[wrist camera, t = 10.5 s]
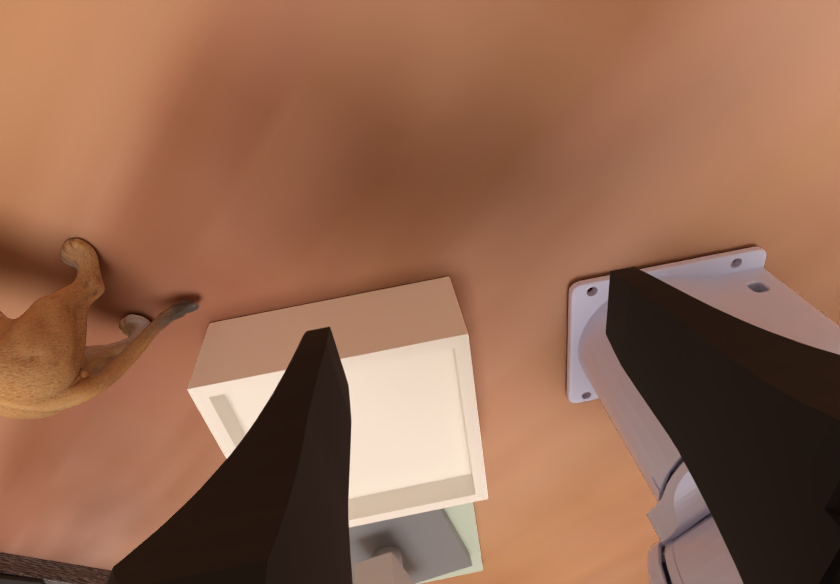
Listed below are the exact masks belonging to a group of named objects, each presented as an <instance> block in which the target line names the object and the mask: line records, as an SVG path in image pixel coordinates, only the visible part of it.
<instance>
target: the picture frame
mask: <svg viewBox="0 0 840 584" xmlns="http://www.w3.org/2000/svg"><path fill="white" fill-rule="evenodd" d="M110 574H111V571H110V570H104V569H98V568H92V567H85V566H79V565H73V564H67V563H61V562H55V561H49V560H43V559H37V558H31V557H25V556H18V555H12V554H6V553H0V584H106V583H107V580H108V578H109V576H110Z"/></svg>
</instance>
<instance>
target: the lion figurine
mask: <svg viewBox="0 0 840 584" xmlns="http://www.w3.org/2000/svg"><path fill="white" fill-rule="evenodd" d="M60 258H61V260H62V262H63V263H65V264H67V265H69V266H71V267H74V268H76V269H77V271H78V274H77V277H76V279H75V280H74V282H73V283H71V284H70V285H68V286H66V287H64V288H62V289H60V290H58V291H56V292H54V293H51V294H49V295H46V296H44V297H42V298H40V299H38V300H37V301H35V302H34V303H33V304H32V305H31V306H30V308H29V309H28V310H27V311H26V312H25V313H24V314H23V315H21V316H20V317H19V318H17V319H10V318H7V317H6V316H5V315H4V314H3V313H2V312H1V311H0V417H4V418H10V419H38V418H44V417H49V416H53V415H55V414H57V413H59V412H60V411H61V410H63V409H66V408H70V407H73V406H76V405H78V404H81V403H83V402H85V401H87V400H89V399H91V398H93V397H95V396H96V395H98V394H99V393H101V392H102V391H104V390H105V389H107V388H108V387H109V386H111V385H112V384H113V383H114V382H116V381H117V380H118V379H119V378H120V377H121V376H122V375H123V374H124V373H125V372H126V371H127V370H128V369H129V368H130V367H131V366H132V365H133V363H134V362H135V361H136V360H137V359H138V358H139V357H140V355H141V354H142V353H143V352H144V351H145V349H146V348H147V347H148V345H149V344H150V343H151V341H152V340H153V339H154V338H155V337H156V336H157V334H158V333H159V332H160V331H161V330H163V329H164V328H165V327H166V326H167V325H168V324H170V323H171V322H172V321H174V320H176V319H178V318H181V317H183V316H184V315H185V314H186V313H190V312H193V311H195V310H197V309H198V308H199V304H198V303H195V302H189V301H179V302H178V303H176V304H174V305H172V306H170V307H169V308H168V309H166V310H165V311H163V312H162V313H160V314H159V315H158V316H157V317H156V318H155V319H154V320H153V321H152V322H150V321H149V320H148V319H146V318H144V317H142V316H139V315H134V314H130V315H127V316H126V317H125V318H123V319H122V320H121V321H120V322H119V328H120V329H121V330H122V332H123V334H125V335H126V336H128V338H126V339H123V340H121V341H119V342H115V343H112V344H107V345H95V346H85V344H86V332H87V314H88V309H89V307H90V306H91V304H92V303H93V302H94V301H96V300H97V299H98V298H100V297H101V296H102V295H103V293H104V291H105V287H104V283H103V280H102V277H101V273H100V268H99V260H98V256H97V254H96V252H95V250H94V249H93V248H92V247H91V246H90V245H89V244H88V243H86V242H85V241H83V240H80V239H77V238H76V239H69V240H67V241H65V243H64V244H63V246H62V248H61V254H60Z"/></svg>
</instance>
